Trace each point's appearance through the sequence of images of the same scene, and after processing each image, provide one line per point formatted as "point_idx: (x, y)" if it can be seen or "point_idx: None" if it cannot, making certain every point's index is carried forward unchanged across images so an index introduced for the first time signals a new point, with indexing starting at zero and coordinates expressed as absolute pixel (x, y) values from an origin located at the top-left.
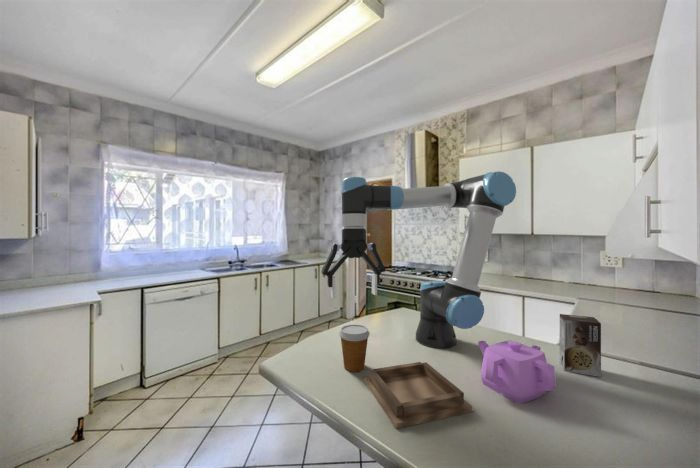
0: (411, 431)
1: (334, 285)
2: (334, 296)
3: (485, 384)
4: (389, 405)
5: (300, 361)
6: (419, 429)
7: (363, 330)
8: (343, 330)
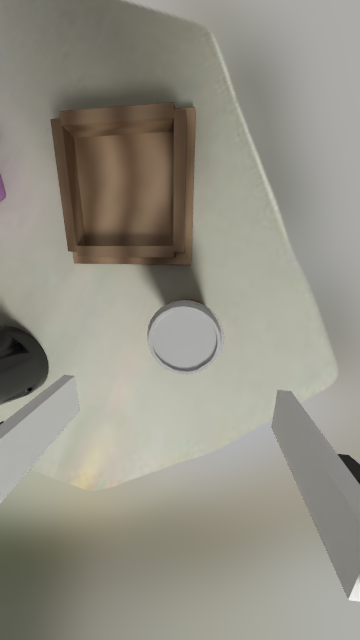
0: (175, 101)
1: (323, 452)
2: (287, 397)
3: (3, 188)
4: (186, 154)
5: (274, 366)
6: (161, 102)
7: (162, 331)
8: (211, 348)
